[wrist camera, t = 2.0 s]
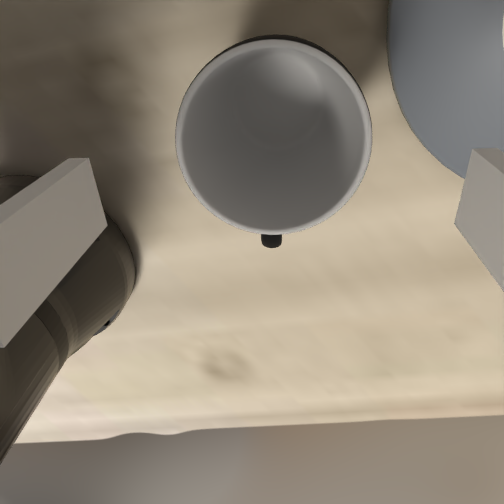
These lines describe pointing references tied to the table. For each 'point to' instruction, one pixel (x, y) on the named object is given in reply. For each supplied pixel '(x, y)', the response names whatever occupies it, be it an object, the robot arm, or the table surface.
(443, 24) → the flange base
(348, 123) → the mug
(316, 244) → the table surface
